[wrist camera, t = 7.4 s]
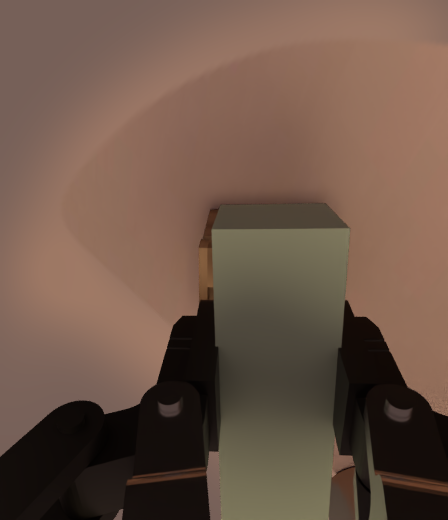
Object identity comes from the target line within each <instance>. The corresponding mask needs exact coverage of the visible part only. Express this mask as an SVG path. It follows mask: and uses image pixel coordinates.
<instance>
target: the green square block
mask: <svg viewBox="0 0 448 520" xmlns="http://www.w3.org/2000/svg"><path fill="white" fill-rule="evenodd" d="M211 230H212V260H213V290H214V319H215V346H218V348H219V380H220V412H221V426H220V439H219V466H220V497H221V520H328V517H329V504H330V491H331V478H332V464H333V451H334V438H335V433H334V429H333V412H334V398H335V385H336V371H337V357H338V348H341V345H342V332H343V318H344V305H345V292H346V278H347V265H348V252H349V239H350V228H349V227H348V226H347V225H346V224H345V223H344V222H343V221H342V220H341V219H340V218H339V216H338V215H337V214H336V213H335V212H334V211H333V210H332V209H331V208H330V207H329V206H328V205H327V204H326V203H315V204H234V205H220V208H219V210H218V213H217V216H216V219H215V221H214V224H213V227H212V229H211Z"/></svg>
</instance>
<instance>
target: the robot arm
mask: <svg viewBox="0 0 448 520" xmlns="http://www.w3.org/2000/svg"><path fill="white" fill-rule="evenodd" d="M220 426H221V412H220V380H219V348H218V346H215V319H214V300H200V303H199V308H198V313H197V316H182V317H181V318H180V319H179V320H178V321H177V322H176V323H175V324H174V325H173V328H172V332H171V335H170V340H169V342H168V346H167V350H166V353H165V356H164V360H163V363H162V367H161V370H160V374H159V377H158V381H157V384H156V385H155V386H153V387H151V388H150V389H149V390H148V391H147V392H146V393H145V394H144V395H143V397H142V399H141V402H140V404H138V405H136V406H134V407H131V408H129V409H125V410H121V411H117V412H113V413H108V414H104V412H103V410H102V408H101V407H100V406H99V405H98V404H96V403H93V402H91V401H74V402H70V403H67V404H64V405H62V406H60V407H58V408H57V409H55V410H53V411H52V412H51V413H50V414H49V415H47V416H46V417H45V418H44V419H43V420H42V421H40V422H39V423H38V424H37V425H36V426H35V427H34V428H33V429H32V430H30V431H29V432H28V433H27V434H26V435H25V436H23V437H22V438H21V439H20V440H19V441H18V442H17V443H16V444H14V445H13V446H12V447H11V448H10V449H9V450H7V451H6V452H5V453H4V454H3V455H2V456H1V457H0V520H113V519H114V518H115V517H116V515H117V513H118V511H119V510H120V509H123V514H122V520H210V510H209V498H208V487H207V474H206V471H207V466H208V456H209V451H218V452H219V439H220ZM333 429H334V433H335V437H336V442H337V446H338V450H339V455H352V456H353V460H354V464H355V467H354V468H350V469H347V470H344V471H342V472H340V473H338V474H336V475H335V476H334V477H333V478H331V491H330V504H329V520H448V416H445V415H442V414H439V413H437V412H434V411H432V408H431V406H430V404H429V403H428V401H427V400H426V399H425V398H424V397H423V396H421V395H420V394H419V393H417V392H416V391H414V390H412V389H410V388H408V387H407V385H406V383H405V381H404V379H403V377H402V375H401V373H400V371H399V369H398V367H397V365H396V362H395V360H394V358H393V356H392V354H391V352H389V348H388V346H387V344H386V342H384V338H383V336H382V334H381V332H380V330H379V328H378V327H377V326H376V325H375V324H374V323H373V322H372V321H370V320H369V319H368V318H367V317H354V314H353V312H352V309H351V307H350V305H349V302H348V301H347V300H345V305H344V318H343V332H342V345H341V348H338V357H337V371H336V385H335V398H334V412H333Z"/></svg>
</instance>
